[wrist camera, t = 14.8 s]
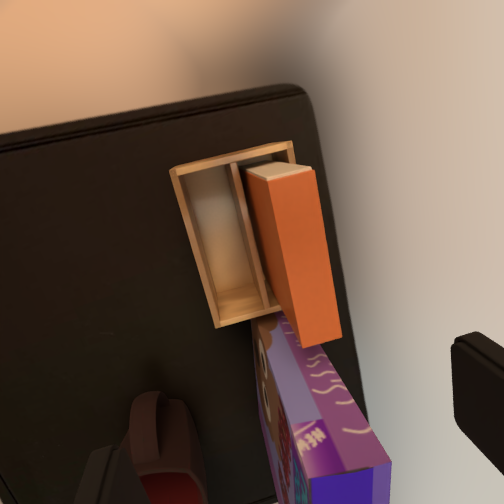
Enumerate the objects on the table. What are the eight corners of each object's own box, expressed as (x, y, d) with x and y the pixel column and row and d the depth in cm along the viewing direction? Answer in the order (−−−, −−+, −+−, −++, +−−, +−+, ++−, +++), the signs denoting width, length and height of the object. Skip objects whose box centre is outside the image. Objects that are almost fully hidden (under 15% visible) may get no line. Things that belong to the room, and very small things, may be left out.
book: (265, 159, 36) (314, 166, 21) (287, 265, 40) (342, 337, 25) (238, 166, 36) (266, 178, 21) (262, 272, 40) (302, 348, 24)
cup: (135, 456, 45) (114, 559, 34) (111, 366, 41) (76, 449, 30) (210, 440, 46) (214, 535, 35) (194, 351, 42) (192, 426, 31)
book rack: (212, 295, 40) (215, 328, 33) (175, 166, 36) (168, 170, 28) (299, 272, 41) (320, 299, 34) (273, 142, 36) (292, 140, 29)
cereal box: (248, 297, 41) (309, 482, 18) (287, 292, 42) (393, 465, 19) (259, 415, 46) (316, 674, 23) (293, 409, 47) (382, 656, 24)
